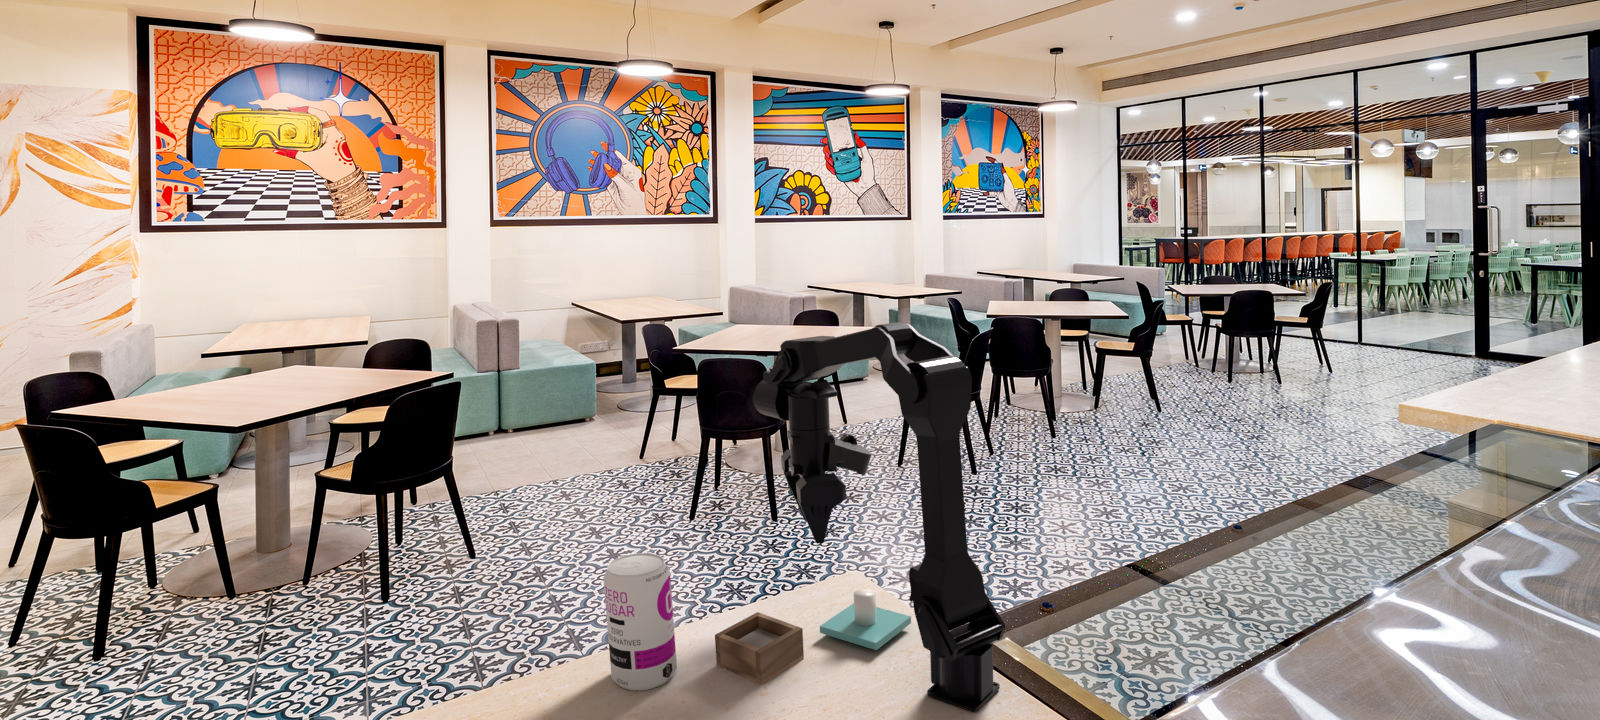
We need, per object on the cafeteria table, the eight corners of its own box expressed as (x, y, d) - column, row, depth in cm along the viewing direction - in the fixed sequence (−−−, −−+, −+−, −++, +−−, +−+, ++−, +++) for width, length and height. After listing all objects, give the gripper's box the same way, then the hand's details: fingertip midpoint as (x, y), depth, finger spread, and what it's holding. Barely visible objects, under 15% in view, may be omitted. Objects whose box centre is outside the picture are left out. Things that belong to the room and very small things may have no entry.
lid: (911, 630, 119) (910, 588, 118) (876, 657, 112) (875, 613, 111) (856, 614, 124) (855, 575, 123) (820, 639, 117) (818, 598, 116)
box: (803, 660, 112) (802, 628, 111) (761, 687, 106) (760, 653, 105) (759, 643, 117) (757, 612, 116) (716, 667, 111) (714, 634, 110)
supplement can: (683, 659, 113) (675, 551, 111) (667, 693, 105) (659, 577, 102) (623, 659, 114) (614, 551, 111) (603, 693, 106) (593, 577, 103)
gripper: (881, 436, 114) (885, 549, 116) (850, 408, 132) (853, 506, 134) (798, 443, 112) (803, 557, 114) (778, 413, 130) (783, 513, 132)
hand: (813, 531), depth 124 cm, fingers open, 9 cm apart
